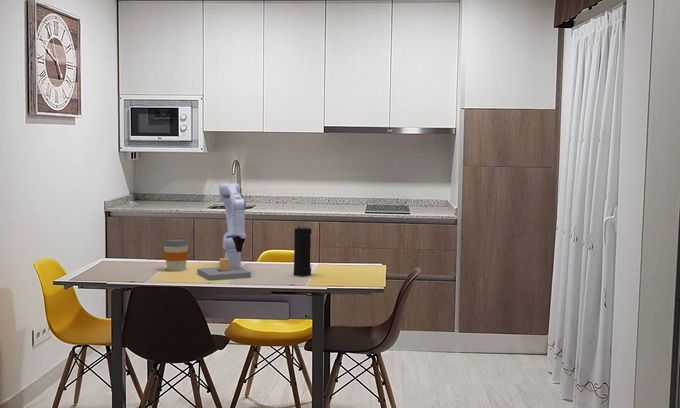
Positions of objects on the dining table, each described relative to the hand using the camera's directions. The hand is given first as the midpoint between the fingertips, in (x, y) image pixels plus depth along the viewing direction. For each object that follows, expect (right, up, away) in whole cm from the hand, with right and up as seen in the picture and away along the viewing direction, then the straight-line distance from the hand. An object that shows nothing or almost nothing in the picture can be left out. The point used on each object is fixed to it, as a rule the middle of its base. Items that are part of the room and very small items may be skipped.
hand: (239, 251), depth 386 cm
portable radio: (+31, -11, -3) cm, 33 cm away
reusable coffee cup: (-32, -10, +10) cm, 35 cm away
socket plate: (-7, -11, -6) cm, 14 cm away
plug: (-6, -11, -6) cm, 14 cm away
